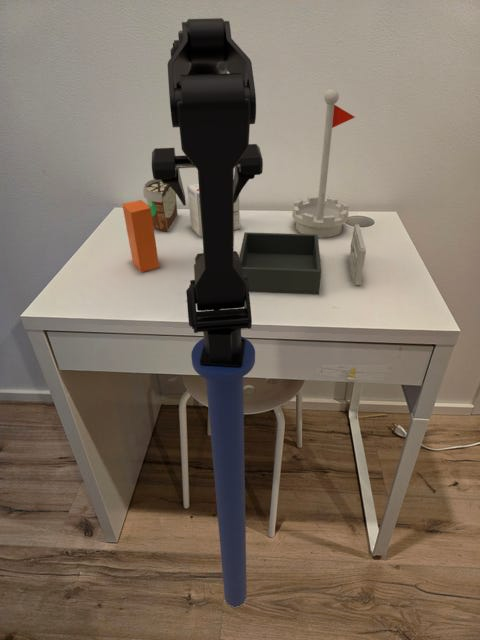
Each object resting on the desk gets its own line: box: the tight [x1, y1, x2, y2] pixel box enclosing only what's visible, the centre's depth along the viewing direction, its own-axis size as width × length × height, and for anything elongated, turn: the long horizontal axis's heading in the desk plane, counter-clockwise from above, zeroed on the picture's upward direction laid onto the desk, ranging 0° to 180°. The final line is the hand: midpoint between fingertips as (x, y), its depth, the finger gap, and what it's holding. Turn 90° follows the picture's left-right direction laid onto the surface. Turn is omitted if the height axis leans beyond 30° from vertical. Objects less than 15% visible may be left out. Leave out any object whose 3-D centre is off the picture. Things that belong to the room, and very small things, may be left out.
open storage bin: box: [239, 231, 322, 295], centre depth 87 cm, size 15×15×5 cm
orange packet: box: [121, 199, 160, 273], centre depth 88 cm, size 5×4×13 cm
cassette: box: [348, 223, 367, 286], centre depth 86 cm, size 12×2×8 cm, turn 174°
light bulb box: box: [186, 182, 241, 238], centre depth 103 cm, size 11×7×11 cm, turn 116°
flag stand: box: [291, 88, 356, 239], centre depth 96 cm, size 13×13×30 cm
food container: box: [142, 178, 178, 233], centre depth 106 cm, size 12×6×10 cm, turn 172°
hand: (209, 202), depth 82 cm, fingers open, 9 cm apart
